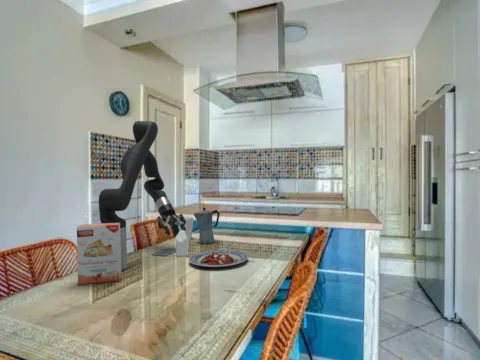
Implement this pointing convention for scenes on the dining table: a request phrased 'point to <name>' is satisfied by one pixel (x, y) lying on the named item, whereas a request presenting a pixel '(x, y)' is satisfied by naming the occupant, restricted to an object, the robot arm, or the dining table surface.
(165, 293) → the dining table surface
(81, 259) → the cracker box
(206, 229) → the moka pot
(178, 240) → the white peaked cylinder
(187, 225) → the foam cup
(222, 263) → the ceramic plate
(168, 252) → the mat
